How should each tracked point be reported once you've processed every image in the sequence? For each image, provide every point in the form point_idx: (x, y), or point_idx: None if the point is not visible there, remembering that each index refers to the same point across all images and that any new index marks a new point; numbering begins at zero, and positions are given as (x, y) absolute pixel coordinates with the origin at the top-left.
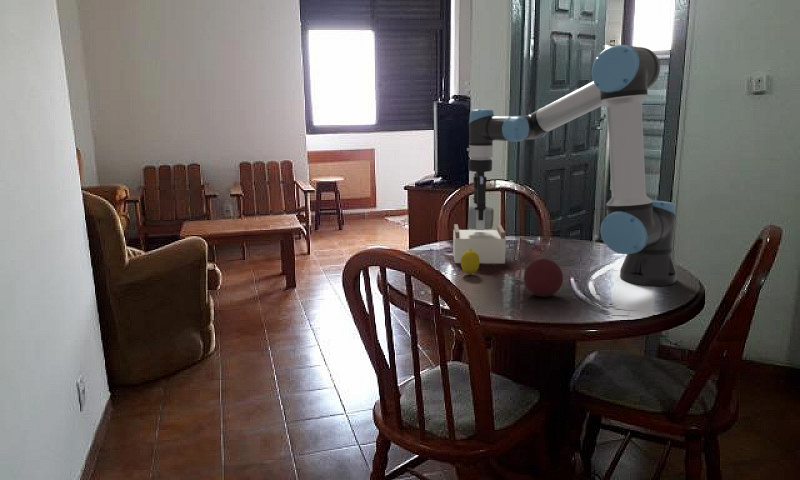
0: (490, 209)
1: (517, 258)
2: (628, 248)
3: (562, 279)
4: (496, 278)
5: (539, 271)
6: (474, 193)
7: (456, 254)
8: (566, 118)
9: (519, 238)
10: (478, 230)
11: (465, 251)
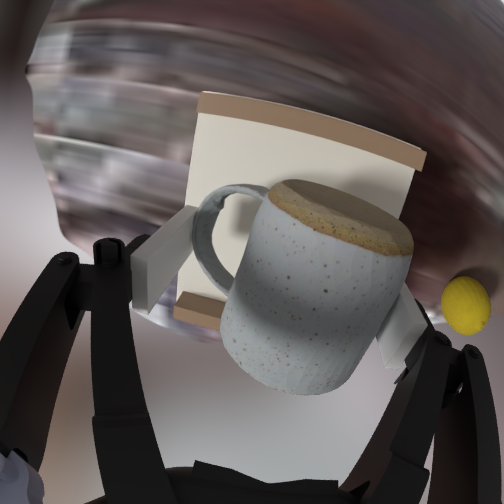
0: (391, 265)
1: (323, 66)
2: None
3: None
4: (495, 234)
5: None
6: (70, 348)
7: None
8: None
9: (59, 23)
10: (197, 206)
11: (468, 333)
